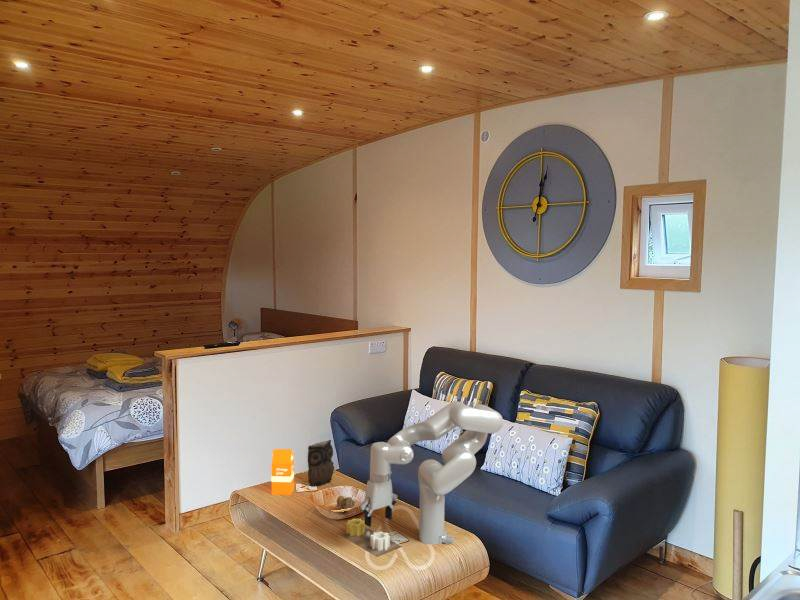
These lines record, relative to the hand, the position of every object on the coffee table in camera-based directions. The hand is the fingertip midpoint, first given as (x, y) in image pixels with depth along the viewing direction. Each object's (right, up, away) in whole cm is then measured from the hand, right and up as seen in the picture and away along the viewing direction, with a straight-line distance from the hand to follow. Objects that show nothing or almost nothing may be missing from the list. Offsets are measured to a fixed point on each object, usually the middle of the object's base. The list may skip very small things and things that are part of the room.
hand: (378, 522), depth 227 cm
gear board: (-4, -10, +6) cm, 13 cm away
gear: (-9, -8, +12) cm, 17 cm away
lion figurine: (-15, -9, +32) cm, 37 cm away
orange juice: (-46, -7, +56) cm, 73 cm away
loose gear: (+1, -9, +1) cm, 9 cm away
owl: (-31, -6, +69) cm, 76 cm away
